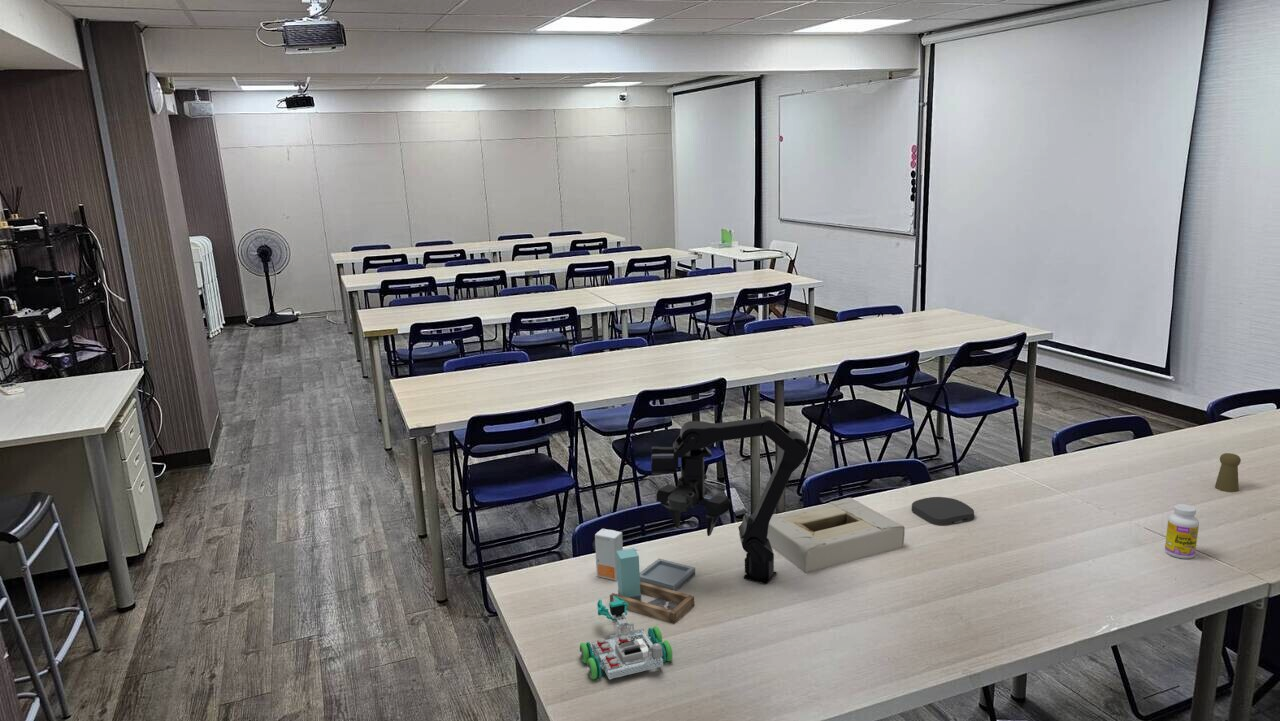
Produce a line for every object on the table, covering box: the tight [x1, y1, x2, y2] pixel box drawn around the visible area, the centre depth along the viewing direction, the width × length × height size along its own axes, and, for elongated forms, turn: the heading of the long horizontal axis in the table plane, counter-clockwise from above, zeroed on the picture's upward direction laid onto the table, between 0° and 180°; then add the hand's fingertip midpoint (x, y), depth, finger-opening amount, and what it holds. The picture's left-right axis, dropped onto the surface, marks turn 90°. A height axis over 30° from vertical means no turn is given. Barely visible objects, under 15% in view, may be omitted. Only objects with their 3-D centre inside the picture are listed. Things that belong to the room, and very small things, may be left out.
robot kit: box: [578, 596, 673, 680], centre depth 183 cm, size 19×25×9 cm
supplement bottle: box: [1164, 503, 1200, 560], centre depth 215 cm, size 7×7×13 cm
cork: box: [1214, 452, 1241, 493], centre depth 256 cm, size 6×6×11 cm
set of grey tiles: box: [647, 597, 680, 610], centre depth 199 cm, size 9×7×1 cm
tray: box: [640, 558, 696, 592], centre depth 214 cm, size 11×11×2 cm
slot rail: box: [609, 581, 695, 625], centre depth 202 cm, size 18×9×2 cm, turn 57°
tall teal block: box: [616, 547, 642, 601], centre depth 204 cm, size 5×5×12 cm
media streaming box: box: [911, 496, 975, 526], centre depth 247 cm, size 15×15×3 cm
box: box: [767, 497, 906, 573], centre depth 230 cm, size 23×8×32 cm
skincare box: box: [594, 528, 624, 582], centre depth 216 cm, size 6×4×12 cm
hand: (693, 531), depth 211 cm, fingers open, 9 cm apart
